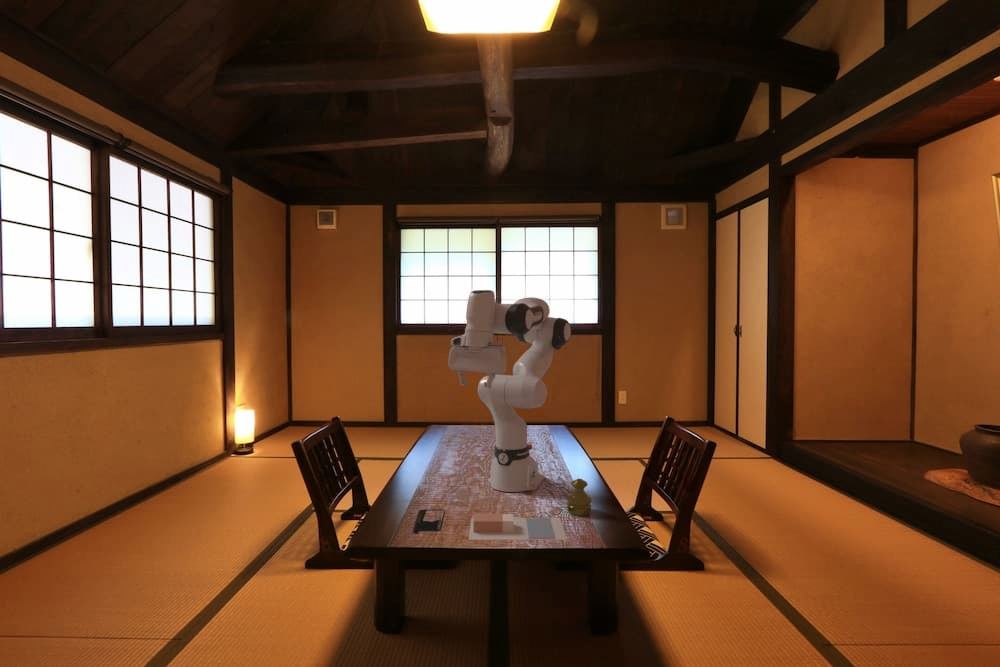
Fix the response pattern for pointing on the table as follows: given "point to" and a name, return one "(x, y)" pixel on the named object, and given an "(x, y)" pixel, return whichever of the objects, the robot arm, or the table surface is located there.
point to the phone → (426, 523)
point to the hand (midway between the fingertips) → (475, 386)
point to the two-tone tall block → (493, 523)
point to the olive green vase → (579, 499)
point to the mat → (525, 530)
